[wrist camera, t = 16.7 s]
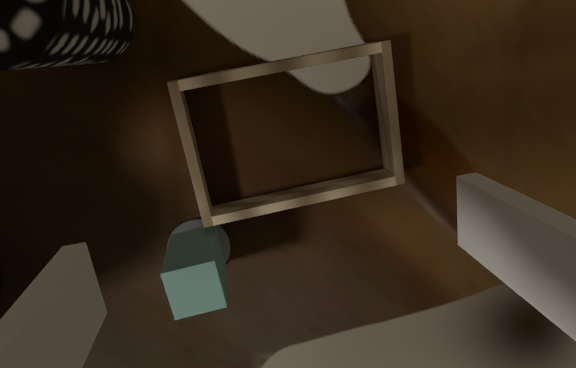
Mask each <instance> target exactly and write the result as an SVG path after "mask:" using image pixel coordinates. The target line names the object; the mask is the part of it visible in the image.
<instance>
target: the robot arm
mask: <svg viewBox="0 0 576 368" xmlns="http://www.w3.org/2000/svg"><path fill="white" fill-rule="evenodd" d="M457 219H458V245H459V246H460V247H461V248H463V249H464V250H465V251H466V252H467V253H469V254H470V255H471V256H472V257H474V258H475V259H476V260H477V261H478V262H480V263H481V264H482V265H483V266H485V267H486V268H487V269H488V270H489V271H491V272H492V273H493V274H494V275H496V276H497V277H498V278H499V279H500V280H502V281H503V282H504V283H505V284H507V285H508V286H509V287H510V288H511V289H513V290H514V291H515V292H516V293H518V294H519V295H520V296H521V297H523V298H524V299H525V300H526V301H527V302H529V303H530V304H531V305H532V306H533V307H535V308H536V309H537V310H539V311H540V312H541V313H542V314H543V315H544V316H546V317H547V318H548V319H549V320H551V321H552V322H553V323H554V324H555V325H557V326H558V327H559V328H560V329H562V330H563V331H564V332H565V333H566V334H568V335H569V336H570V337H571V338H573V339H574V340H575V341H576V219H575V218H572V217H570V216H568V215H566V214H563V213H561V212H559V211H557V210H555V209H553V208H551V207H549V206H546V205H544V204H542V203H540V202H538V201H536V200H534V199H532V198H529V197H527V196H525V195H523V194H521V193H519V192H517V191H515V190H512V189H510V188H508V187H506V186H504V185H502V184H500V183H498V182H495V181H493V180H491V179H489V178H487V177H485V176H483V175H481V174H479V173H471V174H465V175H460V176H457ZM0 290H1V279H0ZM106 314H107V311H106V307H105V304H104V301H103V297H102V294H101V291H100V287H99V284H98V281H97V278H96V274H95V271H94V268H93V264H92V261H91V258H90V254H89V251H88V248H87V245H86V242H83V243H78V244H72V245H67V246H62V247H61V248H60V250H59V251H58V252H57V253H56V254H55V255H54V257H53V258H52V259H51V260H50V261H49V263H48V264H47V265H46V266H45V267H44V268H43V270H42V271H41V272H40V273H39V274H38V276H37V277H36V278H35V279H34V280H33V281H32V283H31V284H30V285H29V286H28V287H27V289H26V290H25V291H24V292H23V293H22V295H21V296H20V297H19V298H18V299H17V300H16V302H15V303H14V304H13V305H12V306H11V308H10V309H9V310H8V311H7V312H6V313H5V315H4V316H3V317H2V318H1V319H0V368H82V367H83V364H84V362H85V360H86V358H87V356H88V353H89V351H90V349H91V347H92V345H93V342H94V340H95V338H96V336H97V334H98V331H99V329H100V327H101V325H102V323H103V321H104V318H105V316H106Z"/></svg>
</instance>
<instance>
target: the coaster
mask: <svg viewBox="0 0 576 368" xmlns="http://www.w3.org/2000/svg"><path fill="white" fill-rule="evenodd" d="M199 228H204V226H203V222H202V218H195V219H190V220H187V221H185V222H183V223H181V224H179V225H178V226H177V227H176V228H175V229H174V230H173V231H172V233H171V235H174V234H178V233H182V232H187V231H191V230H195V229H199ZM216 229H217V233H218V236H219V240H220V244H221V248H222V252H223V255H224V259H225V263H226V262H227V260H228V258H229V255H230V241H229V237H228V235H227V233H226V232H225V230H224V229H223V228H222V227H221V226H220V225H216ZM171 235H170V236H171ZM169 240H170V237H169V239H168V243H169ZM168 243H167V247H168Z"/></svg>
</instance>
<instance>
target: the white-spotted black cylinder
mask: <svg viewBox="0 0 576 368" xmlns="http://www.w3.org/2000/svg"><path fill="white" fill-rule="evenodd" d="M133 32H134V14H133V10H132V6H131V4H130V2H129V0H0V71H4V70H17V69H30V68H44V67H57V66H70V65H84V64H97V63H103V62H107V61H110V60H112V59H114V58H116V57H117V56H119V55H120V54H121V53H122V52H123V51H124V50H125V49H126V48H127V46H128V45H129V43H130V41H131V39H132V36H133Z"/></svg>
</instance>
